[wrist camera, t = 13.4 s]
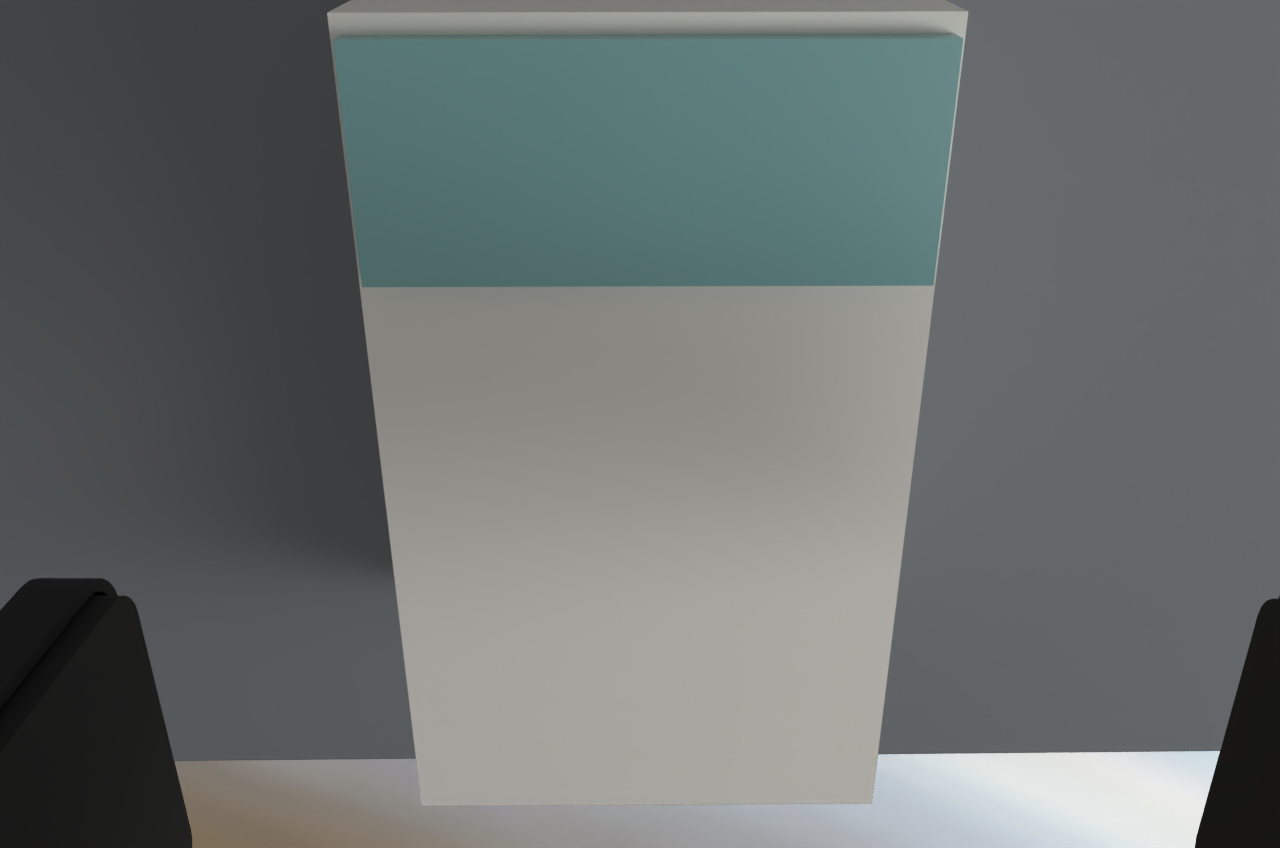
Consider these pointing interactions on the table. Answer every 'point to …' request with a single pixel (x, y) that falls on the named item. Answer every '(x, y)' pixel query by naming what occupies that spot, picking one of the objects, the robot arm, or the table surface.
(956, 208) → the mat
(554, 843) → the table surface
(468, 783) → the card deck
